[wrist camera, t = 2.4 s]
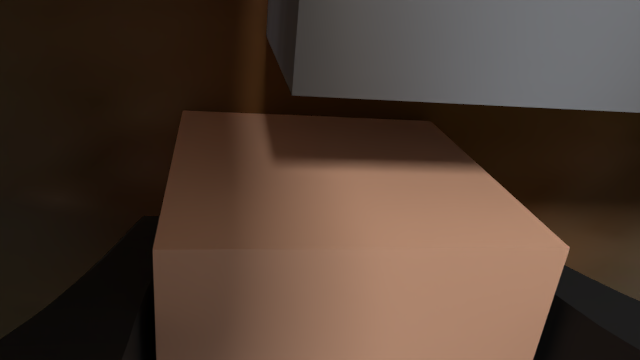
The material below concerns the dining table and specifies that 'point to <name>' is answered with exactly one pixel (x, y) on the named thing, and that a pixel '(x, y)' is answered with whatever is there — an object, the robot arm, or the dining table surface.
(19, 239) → the dining table surface
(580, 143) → the dining table surface
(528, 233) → the terracotta cube
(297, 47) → the grey flat square block
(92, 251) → the dining table surface
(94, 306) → the robot arm
